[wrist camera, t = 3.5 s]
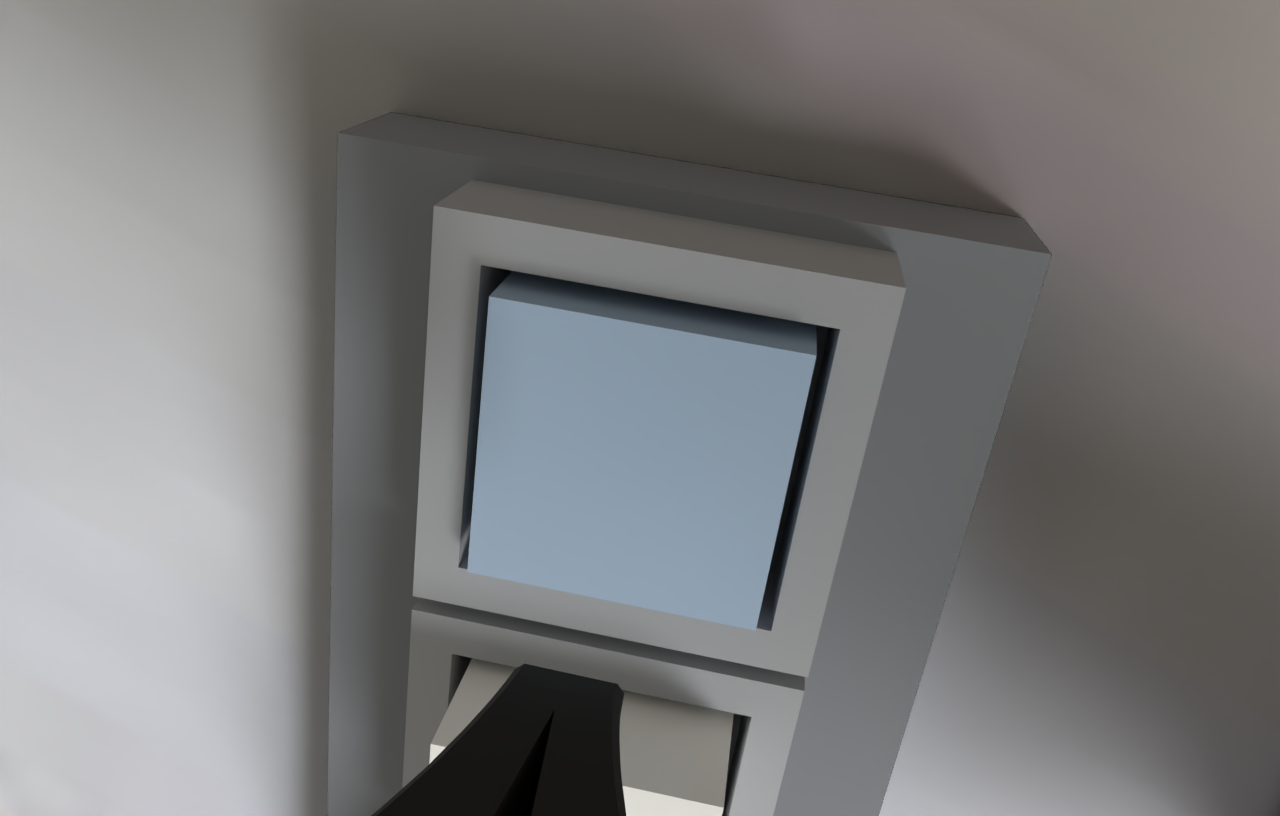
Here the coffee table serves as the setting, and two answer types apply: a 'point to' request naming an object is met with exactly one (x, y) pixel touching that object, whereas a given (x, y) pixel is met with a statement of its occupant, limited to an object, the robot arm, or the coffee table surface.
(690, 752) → the white key
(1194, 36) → the coffee table surface
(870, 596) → the key panel
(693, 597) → the blue key
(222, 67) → the coffee table surface
